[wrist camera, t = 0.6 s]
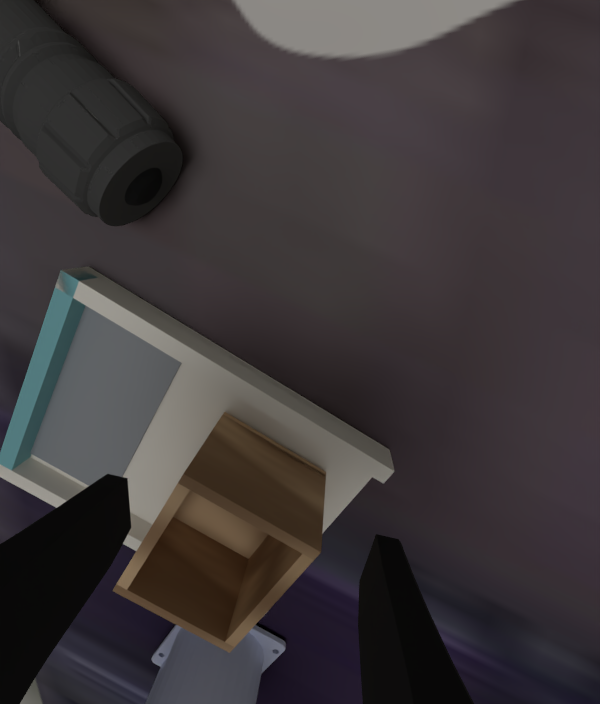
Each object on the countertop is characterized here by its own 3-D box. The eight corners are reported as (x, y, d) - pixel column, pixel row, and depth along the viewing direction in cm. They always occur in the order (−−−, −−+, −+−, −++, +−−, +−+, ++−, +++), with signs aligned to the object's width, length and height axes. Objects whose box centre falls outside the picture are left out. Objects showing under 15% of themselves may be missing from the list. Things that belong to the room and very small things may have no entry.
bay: (266, 590, 25) (261, 618, 24) (21, 454, 24) (-7, 473, 22) (389, 449, 20) (394, 471, 19) (88, 266, 19) (60, 270, 17)
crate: (254, 560, 23) (229, 653, 18) (164, 510, 23) (112, 590, 18) (326, 471, 20) (321, 552, 15) (224, 411, 20) (183, 473, 15)
